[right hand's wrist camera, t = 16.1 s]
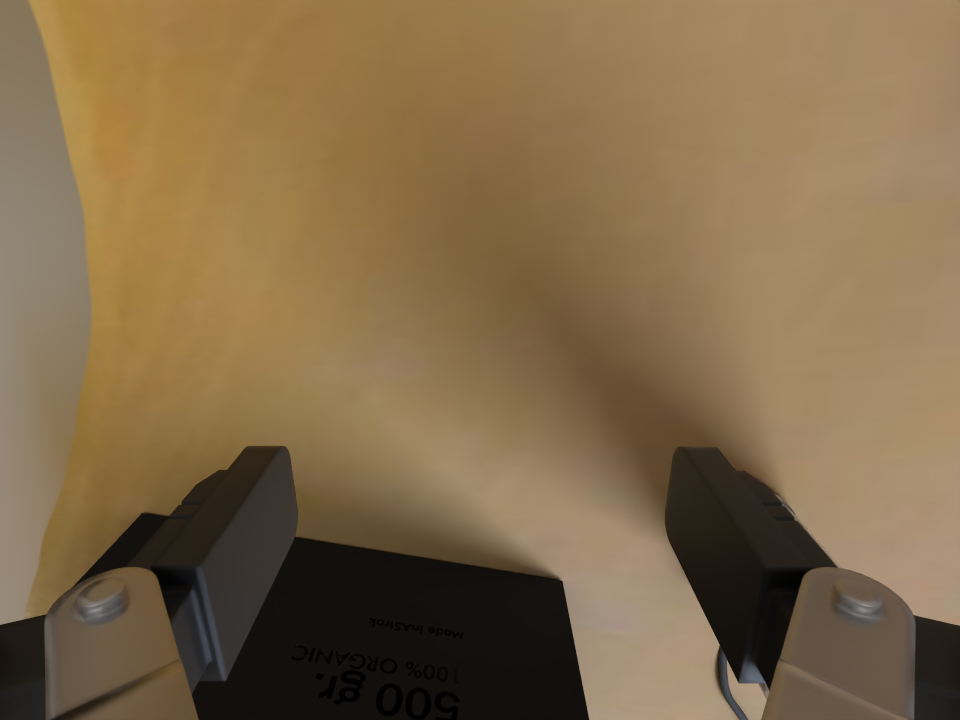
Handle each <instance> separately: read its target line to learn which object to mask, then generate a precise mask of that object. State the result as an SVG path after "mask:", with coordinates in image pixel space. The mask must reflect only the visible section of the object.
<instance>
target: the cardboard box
mask: <svg viewBox="0 0 960 720" xmlns="http://www.w3.org/2000/svg"><path fill="white" fill-rule="evenodd" d="M166 520H169V517H163V516H157V515H151V514H145V513H142V514H141V515H140V516H139V517H138V518H137V519H136V520H135V521H134V522H133V524H132V525H131V526H130V527H129V528H128V529H127V530H126V531H125V532H124V533H123V534H122V535H121V536H120V537H119V538H118V539H117V541H116V542H115V543H114V544H113V545H112V546H111V547H110V548H109V549H108V550H107V551H106V552H105V553H104V554H103V555H102V556H101V558H100V559H99V560H98V561H97V562H96V563H95V564H94V565H93V566H92V567H91V568H90V569H89V570H88V571H87V572H86V573H85V575H84V576H83V577H82V578H81V579H80V580H79V581H78V582H77V583H76V584H75V585H77V584H79V583H80V582H82V581H84V580H86V579H88V578H90V577H93V576H95V575H97V574H100V573H103V572H106V571H109V570H114V569H118V568H125V567H126V566H127V565H128V564H129V562H130V561H131V560H132V559H133V558H134V557H135V556H136V554H137V553H138V552H139V551H140V550H141V549H142V547H143V546H144V545H145V544H146V543H147V542H148V540H149V539H150V538H151V537H152V536H153V535H154V533H155V532H156V531H157V530H158V529H159V528H160V526H161V525H162V524H163V523H164V522H165V521H166ZM75 585H74V586H75ZM74 586H73V587H74ZM298 645H302V646H305V650H304V649H303V648H296V646H298ZM319 649H321V651H322V652H323V653H324V654H325V656H326V657H327V658H326V660H325V659H324V658H323V657H322V655H320V657H319V660H318V662H316V661H315V659H316V656H318V652H319ZM335 651H338V654H339V655H344V656H343V660H344V661H343V662H342V663H341V664H340V665H339V664H338V662H337V658H336V654H335ZM304 654H306V655H307V656H306V657H305V658H304V659H300V658H301V657H303V656H304ZM353 654H361V655H363V656H364V657H365V659H366V660H365V659H364V658H361V657H359V656H355V657H353V659H356V661H351V657H352V655H353ZM310 655H311V656H313V658H312V661H309V660H308V659H309V656H310ZM368 656H371V658H372V659H373V661H374V662H375V663H376V665H377V668H376V670H374V669H373V667H374V665H370V668H372V669H370V668H369V666H368V664H369V663H370V662H371V661H370V659H369V658H368ZM330 658H331V661H330V663H329V660H330ZM339 659H340V661H341V659H342V658H341V657H340V658H339ZM351 664H352V665H353V666H355V667H353V666H350V665H351ZM358 666H359V667H358ZM192 698H193V702H194V705H195V709H196V712H197V716H198V719H199V720H589V716H588V711H587V706H586V701H585V696H584V691H583V685H582V680H581V675H580V670H579V665H578V659H577V654H576V649H575V644H574V639H573V634H572V628H571V623H570V618H569V613H568V608H567V602H566V597H565V592H564V587H563V582H562V581H559V580H553V579H547V578H541V577H534V576H528V575H522V574H516V573H510V572H503V571H497V570H491V569H485V568H479V567H473V566H466V565H460V564H454V563H448V562H442V561H435V560H429V559H423V558H417V557H411V556H405V555H398V554H392V553H386V552H380V551H374V550H367V549H361V548H355V547H349V546H343V545H336V544H330V543H324V542H318V541H312V540H306V539H299V538H294V540H293V542H292V545H291V547H290V549H289V551H288V553H287V555H286V557H285V559H284V561H283V563H282V565H281V567H280V569H279V571H278V574H277V576H276V578H275V580H274V582H273V584H272V586H271V588H270V590H269V592H268V594H267V596H266V598H265V600H264V602H263V605H262V607H261V609H260V611H259V613H258V615H257V617H256V619H255V621H254V623H253V625H252V627H251V629H250V631H249V633H248V636H247V638H246V640H245V642H244V644H243V646H242V648H241V650H240V652H239V654H238V656H237V658H236V660H235V662H234V665H233V667H232V669H231V671H230V673H229V675H228V677H227V679H226V681H199V682H198V684H197V685H196V687H195V689H194V691H193V693H192Z"/></svg>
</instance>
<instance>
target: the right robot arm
mask: <svg viewBox="0 0 960 720" xmlns="http://www.w3.org/2000/svg"><path fill="white" fill-rule="evenodd" d="M297 522H298V509H297V502H296V495H295V487H294V480H293V473H292V466H291V459H290V454H289V451H288V449H287V448H286V447H285V446H247V447H246V448H245V449H244V450H243V451H242V452H241V454H240V455H239V456H238V457H237V459H236V460H235V461H234V462H233V464H232V465H231V466H230V467H229V469H228V470H219V471H217V472H215V473H214V474H212V475H211V476H209V477H208V478H206V479H204V480H203V481H201V482H200V483H198V484H197V485H196V486H195V487H194V488H193V489H192V490H191V492H190V493H189V494H188V495H187V496H186V497H185V498H184V500H183V501H182V505H178V507H177V508H176V509H175V510H174V511H173V512H172V514H171V515H170V518H169V520H166V521H165V522H164V523H163V524H162V525H161V526H160V528H159V529H158V530H157V531H156V532H155V533H154V535H153V536H152V537H151V538H150V539H149V540H148V542H147V543H146V544H145V545H144V546H143V547H142V549H141V550H140V551H139V552H138V553H137V554H136V556H135V557H134V558H133V559H132V560H131V561H130V562H129V564H128V565H127V566H126V567H125V568H118V569H114V570H109V571H106V572H103V573H100V574H97V575H95V576H93V577H90V578H88V579H86V580H84V581H82V582H80V583H79V584H77V585H75V586H74V587H72V588H71V589H70V590H68V591H67V592H65V593H64V594H63V595H62V596H61V597H60V598H59V599H58V600H57V601H56V602H55V603H54V604H53V605H52V607H51V608H50V610H49V611H48V613H47V614H46V615H42V616H38V617H33V618H29V619H24V620H20V621H16V622H11V623H7V624H2V625H0V720H199V719H198V716H197V712H196V709H195V705H194V702H193V698H192V693H193V691H194V689H195V687H196V685H197V684H198V682H199V681H226V679H227V677H228V675H229V673H230V671H231V669H232V667H233V665H234V662H235V660H236V658H237V656H238V654H239V652H240V650H241V648H242V646H243V644H244V642H245V640H246V638H247V636H248V633H249V631H250V629H251V627H252V625H253V623H254V621H255V619H256V617H257V615H258V613H259V611H260V609H261V607H262V605H263V602H264V600H265V598H266V596H267V594H268V592H269V590H270V588H271V586H272V584H273V582H274V580H275V578H276V576H277V574H278V571H279V569H280V567H281V565H282V563H283V561H284V559H285V557H286V555H287V553H288V551H289V549H290V547H291V545H292V542H293V540H294V537H295V534H296V529H297ZM665 525H666V531H667V536H668V539H669V542H670V544H671V546H672V548H673V550H674V552H675V554H676V556H677V558H678V560H679V562H680V564H681V566H682V568H683V570H684V573H685V575H686V577H687V579H688V581H689V583H690V585H691V587H692V589H693V591H694V593H695V595H696V597H697V599H698V601H699V603H700V605H701V607H702V609H703V611H704V613H705V615H706V617H707V620H708V622H709V624H710V626H711V628H712V630H713V632H714V634H715V636H716V638H717V640H718V642H719V644H720V650H719V676H720V684H721V688H722V692H723V694H724V696H725V699H726V700H727V702H728V704H729V705H730V707H731V708H732V710H733V711H734V712H735V714H736V715H737V716H738V718H739V719H740V720H748V719H747V717H746V716H745V714H744V713H743V711H742V710H741V709H740V707H739V706H738V705H737V703H736V702H735V700H734V699H733V697H732V695H731V692H730V689H729V685H728V677H727V660H728V662H729V664H730V666H731V669H732V671H733V673H734V675H735V677H736V679H737V681H738V683H758V684H759V685H760V687H761V689H762V691H763V693H764V695H765V697H766V699H767V702H766V705H765V709H764V712H763V716H762V719H761V720H960V626H958V625H954V624H949V623H945V622H941V621H936V620H932V619H927V618H923V617H919V616H915V615H913V613H912V611H911V610H910V608H909V607H908V605H907V604H906V603H905V602H904V601H903V600H902V599H901V598H900V597H899V596H898V595H897V594H896V593H895V592H893V591H892V590H890V589H889V588H888V587H886V586H885V585H883V584H881V583H880V582H878V581H876V580H874V579H872V578H870V577H867V576H865V575H863V574H860V573H857V572H854V571H851V570H846V569H842V568H841V567H840V566H839V565H838V564H837V562H836V561H835V560H834V559H833V558H832V557H831V556H830V554H829V553H828V552H827V551H826V550H825V549H824V548H823V546H822V545H821V544H820V543H819V542H818V541H817V540H816V538H815V537H814V536H813V535H812V534H811V533H810V531H809V530H808V529H807V528H806V527H805V526H804V524H803V523H802V522H801V521H800V520H799V519H798V518H797V517H796V515H795V513H794V512H793V510H792V509H791V508H790V507H789V505H788V504H787V503H786V502H785V501H784V500H783V499H782V498H781V497H780V496H778V495H777V494H775V493H773V492H772V491H771V490H770V488H769V487H768V486H767V485H765V484H764V483H762V482H760V481H759V480H757V479H756V478H754V477H753V476H751V475H749V474H748V473H746V472H745V471H736V470H735V469H734V468H733V467H732V465H731V464H730V463H729V462H728V460H727V459H726V458H725V457H724V455H723V454H722V453H721V452H720V450H719V449H718V448H716V447H678V448H676V450H675V452H674V455H673V459H672V466H671V473H670V480H669V487H668V494H667V501H666V508H665Z"/></svg>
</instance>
